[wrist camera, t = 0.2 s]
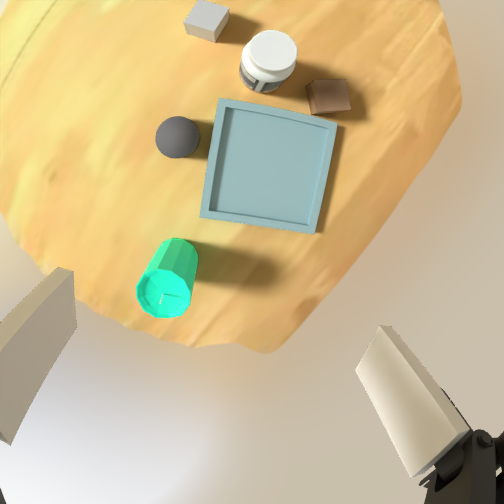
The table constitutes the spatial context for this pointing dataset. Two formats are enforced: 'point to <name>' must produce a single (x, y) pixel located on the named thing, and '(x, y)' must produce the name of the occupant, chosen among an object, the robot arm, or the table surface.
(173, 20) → the table surface
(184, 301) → the candle
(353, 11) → the table surface
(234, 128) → the tray
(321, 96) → the walnut block
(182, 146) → the dark grey stone
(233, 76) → the table surface
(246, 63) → the pill bottle
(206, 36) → the grey block
